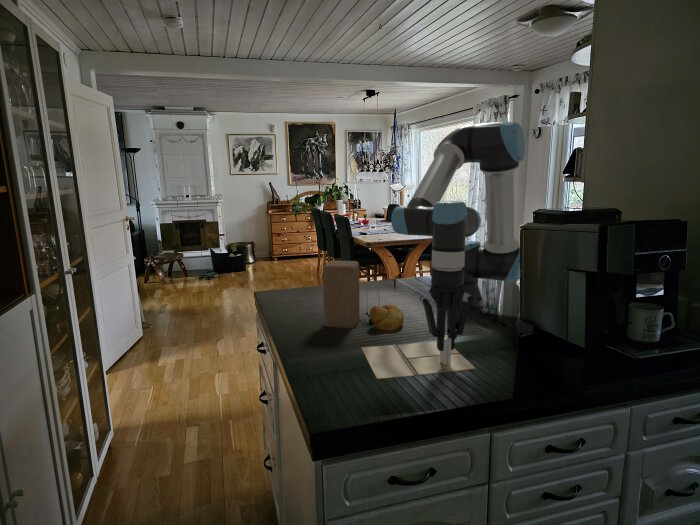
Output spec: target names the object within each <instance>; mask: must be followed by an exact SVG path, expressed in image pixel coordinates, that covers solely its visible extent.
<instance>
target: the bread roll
mask: <svg viewBox="0 0 700 525" xmlns="http://www.w3.org/2000/svg"><path fill="white" fill-rule="evenodd" d="M404 316H405V315H404V313H403V310H402V309H401V308H400V307H398V306H397V305H394V304H384V305H382V306H378V305H376V306H372V307H371V308H370V310H369V317H370V320H371V321H372V323H373V326H374V328H376V329H378V330H384V331H397V330H399V329H401V327H402V326H403V324H404V320H405V319H404Z"/></svg>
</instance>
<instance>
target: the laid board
mask: <svg viewBox="0 0 700 525" xmlns="http://www.w3.org/2000/svg"><path fill="white" fill-rule="evenodd" d="M360 348H361V350H362V351H363V354H364V356H365V357H366V359H367V362H368V364H369V366H370V368H371V370H372V372H373V373H374V375H375V378H376V379H377V380H378V379H390V378H401V377H413V376H414V377H415V376H418V373H417V371H416V370H415V369H414V367H413V366H412V365H411V363H410V362H409V360H408V359H407V358H406V356H405V355H404V354H403V352H402V351H401V350H400V348H399V347H398V346H397V344H390V345H389V344H388V345H379V346H377V345H376V346H364V347H360Z"/></svg>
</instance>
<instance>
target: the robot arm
mask: <svg viewBox="0 0 700 525" xmlns="http://www.w3.org/2000/svg"><path fill="white" fill-rule="evenodd" d="M525 148H526V142H525V136H524V131H523V128H522V125H520V123H519V122H517V121H494V122H485V123H482V122H481V123H471V124H465V125H463V126H460V127H458V128H456V129H455V130H452V131H451V132H450V133H449V134H447V135H446V136H445V137H443V139H442V140H441V141H440V142H439V144H437V146H436V148H435V150H434V152H433V160H432V161H431V163H430V165H429V166H428V169H427V170H426V173H425V174H424V175H423V178H422V179H421V181H420V182H419V184H418V186H417V188H416V190H415V191H414V194H413V195H412V197H411V198H410V200H409V202H408V203H407V205H406V206H405V205H402V206H396V207H394V209H393V210H392V213H391V218H390V220H391V227H392V230H393V231H394V233H396V234H399V235H405V236H421V237H422V236H423V237H424V236H425V237H432V239H431V241H432V242H431V245H432V246H431V266H432V269H431V275H430V276H431V277H430V278H431V280H430V281H431V282H430V283H431V284H430V286H431V287H430V289H429V291H428V293H427V294H426V295H425V296H420V297H419V301H420V302H421V304H422V305H423V308H424V313H425V317H426V322H427V327H428V331H429V334H430V335H431V336H433V337H434V338H436V341H437V349H438V350H439V351H440V361H441V362H442V363H443V364H444V365H450V364H451V350H454V349H455V343H456V342H455V340H456V339H457V338H458V337H457V336H461V335H463V333H464V329H465V326H466V323H467V318H468V315H469V311H470V310H476V309H479V308H481V307H482V306H483V297H482V292H481V290H480V287H479V279H482V280H492V281H499V282H501V281H502V282H504V283H505V282H513V283H514V282H517V281H518V280H519V278H520V276H521V274H520V248H521V247H520V242H519V240H517V239H516V238H515V177H514V176H515V171H516V170H517V168H519V166H520V162H522V161H523V160H524V159H525V156H526V154H525V153H526V152H525ZM471 163H474V164H475V163H478V165H479V170H480V171H481V172H482V173H483V174H484V185H485V186H484V188H485V206H486V207H485V209H486V229H487V230H486V231H487V232H486V234H487V239H486V240H485V241H484V243H483V245H481V242H480V241H476V240H472V241H471V240H469V241H466V238H469V237H471V236H473V235H475V233H477V232H478V231H479V229H480V227H481V223H482V218H481V216H480V213H479V212H478V211H477V210H476V209H474V208H473V207H469V206H467V204H466V203H465V202H464V201H461V200H456V201H455V200H447V201H446V200H445V201H442V199H443V197H444V195H445V193H446V191H447V190H448V187H449V185H450V184H451V181H452V180H453V178H454V175H455V174H456V171H458V170H460V168H462V167H463V165H464V164H471ZM432 300H433V301H434V302H435V304H436V319H435V314H434V311H433V307H432V304H433V302H432ZM457 311H458V312H457ZM446 313H447V315H446ZM446 316H447V320H446ZM446 322H447V323H446Z"/></svg>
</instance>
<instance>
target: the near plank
mask: <svg viewBox="0 0 700 525" xmlns="http://www.w3.org/2000/svg"><path fill="white" fill-rule="evenodd" d="M407 361H408V362H409V364H410V365H411V366H412V368H413V369H414V371H415V372H416V373H417V375H419V376H421V375H430V374H431V375H432V374H441V373H443V374H445V373H454V372H464V371H465V372H467V371H476V369H477V367H475V366H474V365H473V364H472V363H471V362H470V361H469V360H468V359H467V358H465V357H464V356H463V355H462V354H461V353H459V354H452V355H451V364H450V365H444V364H443V363H442V362H441V361H440V356H429V357H417V358H407Z"/></svg>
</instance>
